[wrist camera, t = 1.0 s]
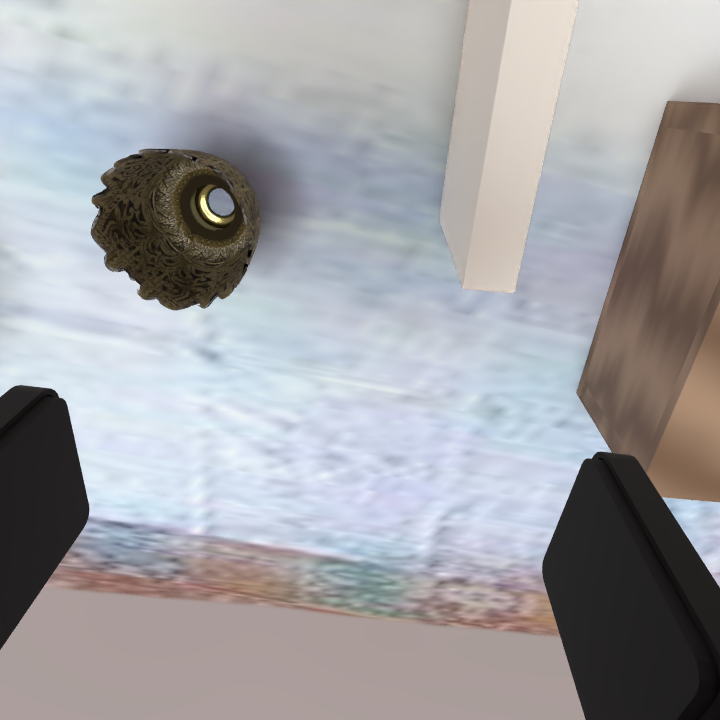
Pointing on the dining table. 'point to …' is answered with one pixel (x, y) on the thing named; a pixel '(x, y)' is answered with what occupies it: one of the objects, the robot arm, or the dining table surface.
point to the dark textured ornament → (176, 225)
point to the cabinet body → (666, 316)
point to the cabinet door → (501, 133)
